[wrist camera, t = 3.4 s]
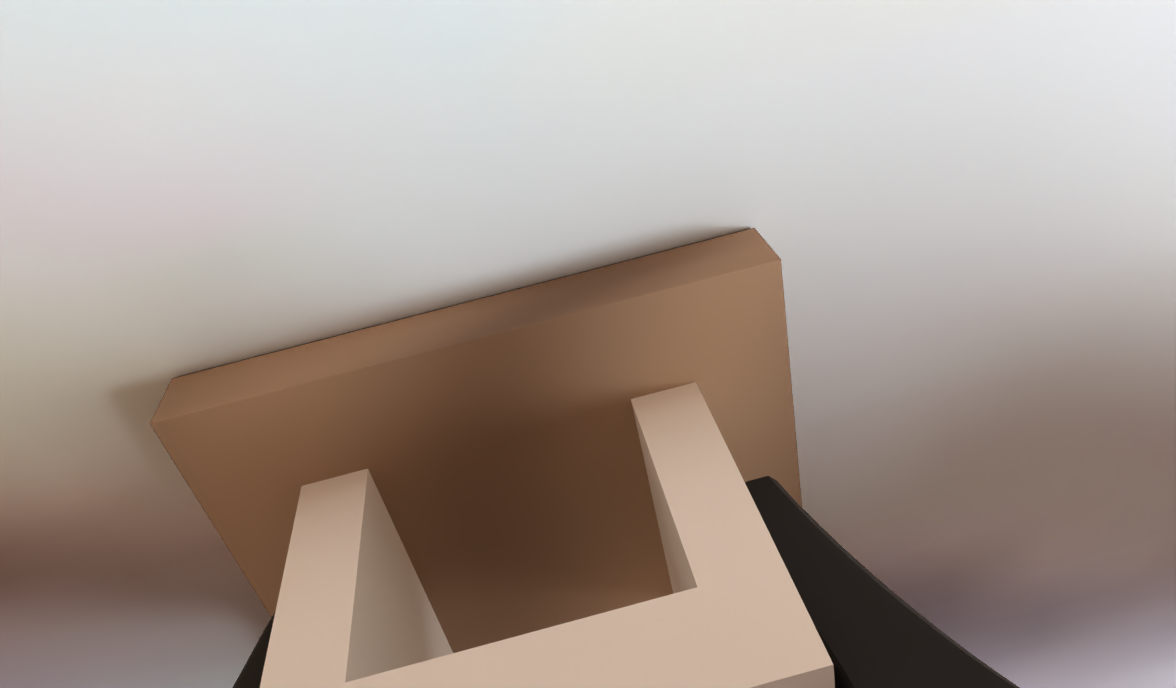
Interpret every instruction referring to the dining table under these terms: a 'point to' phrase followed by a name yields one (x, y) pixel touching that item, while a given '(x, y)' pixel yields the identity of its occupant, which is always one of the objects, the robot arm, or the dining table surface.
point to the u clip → (574, 649)
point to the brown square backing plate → (501, 431)
